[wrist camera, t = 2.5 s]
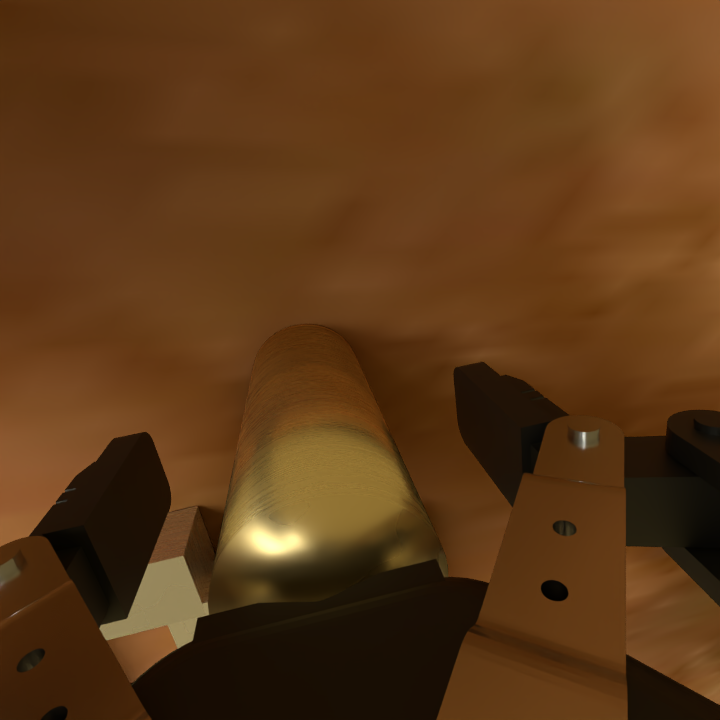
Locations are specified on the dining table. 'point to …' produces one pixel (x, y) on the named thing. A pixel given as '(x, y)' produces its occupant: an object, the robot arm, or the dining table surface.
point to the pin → (314, 482)
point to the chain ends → (172, 581)
